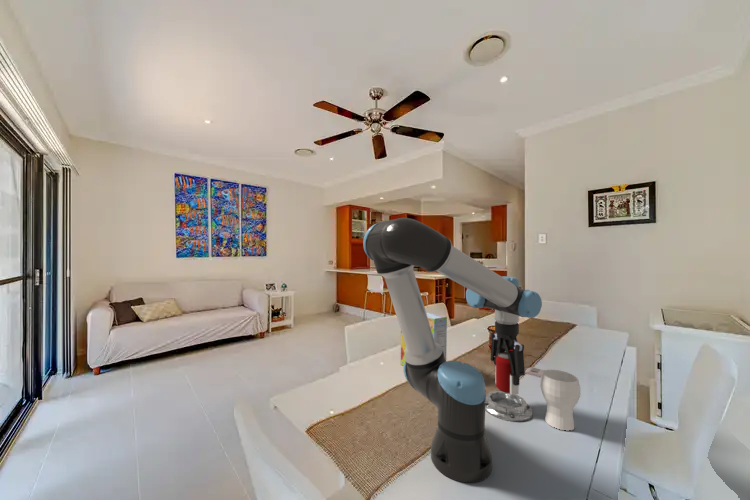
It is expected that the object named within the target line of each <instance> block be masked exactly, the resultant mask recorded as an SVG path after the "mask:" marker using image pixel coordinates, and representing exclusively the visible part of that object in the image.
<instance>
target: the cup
mask: <svg viewBox="0 0 750 500" xmlns="http://www.w3.org/2000/svg"><path fill="white" fill-rule="evenodd" d="M539 381H540V384H539V385H540V386H539V387H540V389H541V394H542V396H543V398H544V400H545V402H546V403H545V404H546V411H545V412H546V413H545V418H544V420H545V422H546V423H547V425H549V426H550V427H552V428H554V427H555V428H554V429H556V428H557V429H556V430H559V429H560V431H564V430H566V431H565V432H570V431H569V430H571V431H573V430H574V429H575V422H574V420H575V419H574V416H573V414H574V413H573V412H574V409H575V407H576V406H577V404H578V403H579V400H580V398H581V385H580V381H579V378H578V377H577V376H576V375H574V374H573V373H570V372H568V371H563V370H561V369H560V370H559V369H545V371H543V372H542V376H541V378H540V380H539Z"/></svg>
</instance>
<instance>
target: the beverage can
mask: <svg viewBox="0 0 750 500" xmlns="http://www.w3.org/2000/svg"><path fill="white" fill-rule="evenodd" d="M510 374H512V371H511V367H510V362H509V358H508V354H507V353H506V351H505V352H503V353H499V354H498V356H497V358H496V384H495V386H496V389H498V391H502V392H505V393H510Z"/></svg>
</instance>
